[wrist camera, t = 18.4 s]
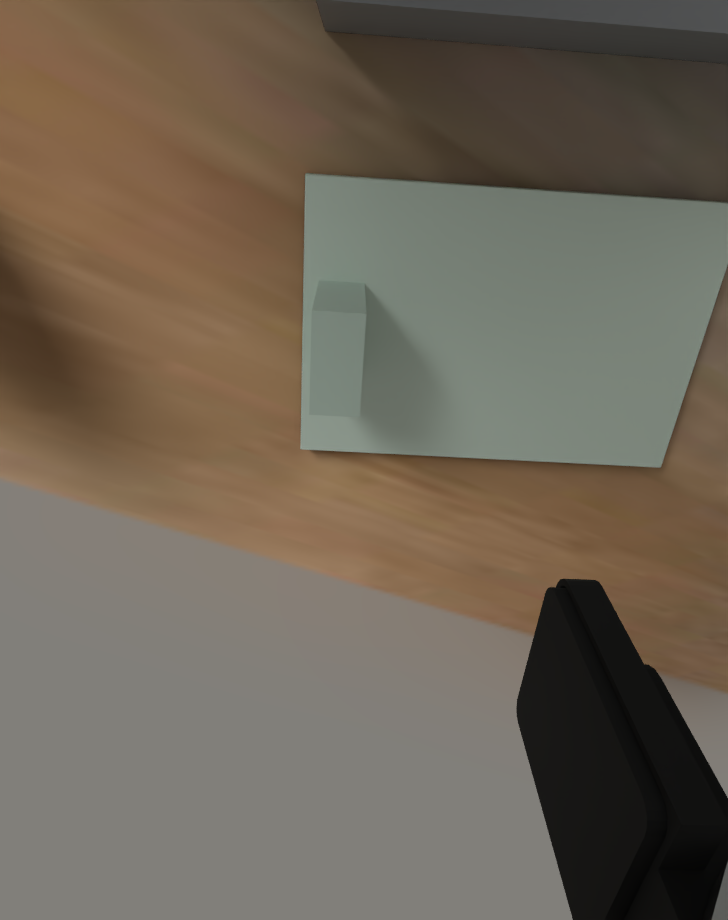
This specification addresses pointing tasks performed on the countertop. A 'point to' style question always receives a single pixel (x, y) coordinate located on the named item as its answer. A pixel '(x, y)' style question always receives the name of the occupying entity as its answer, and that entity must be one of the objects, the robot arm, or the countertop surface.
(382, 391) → the lid
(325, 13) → the tub
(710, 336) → the countertop surface
